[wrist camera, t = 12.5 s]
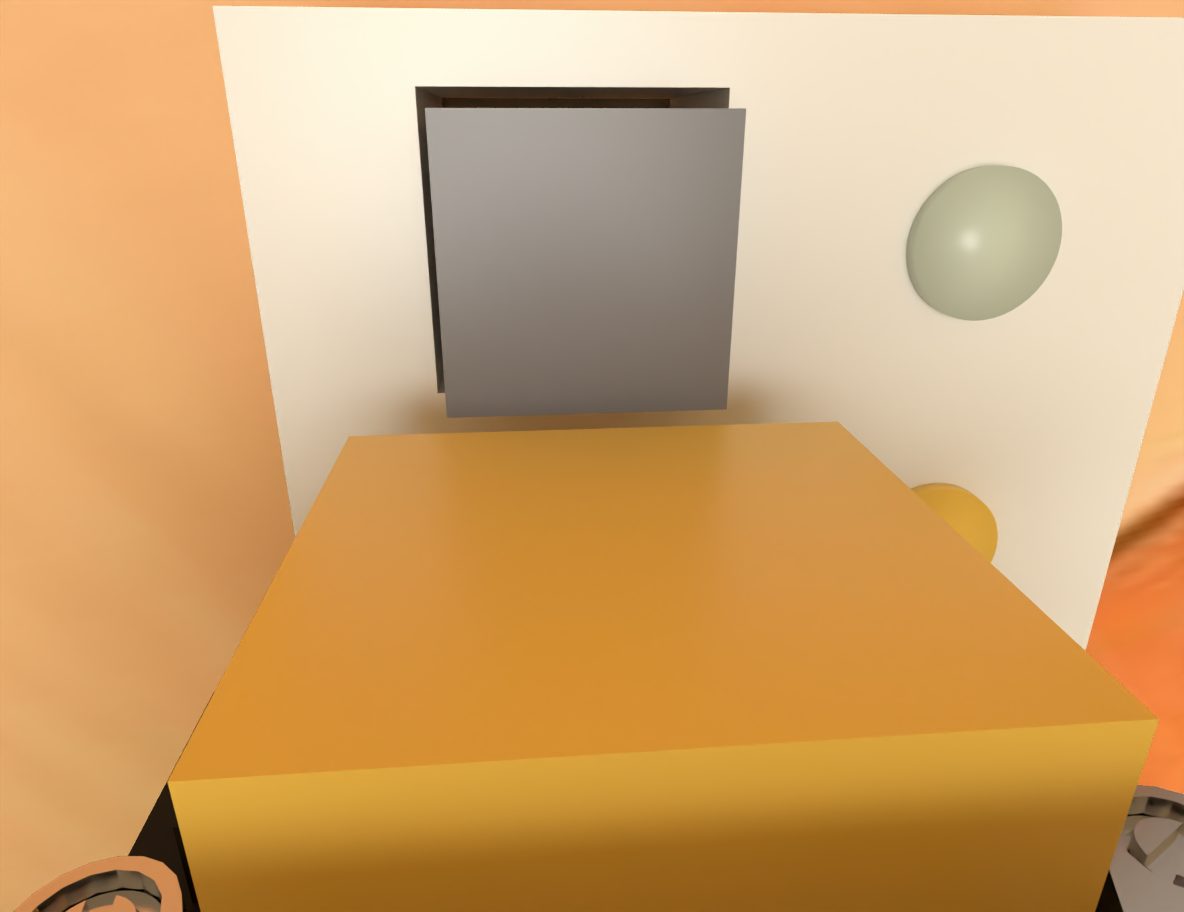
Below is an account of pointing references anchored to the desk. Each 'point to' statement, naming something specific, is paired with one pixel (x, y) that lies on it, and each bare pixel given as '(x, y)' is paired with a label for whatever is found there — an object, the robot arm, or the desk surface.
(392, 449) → the cap
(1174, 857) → the robot arm
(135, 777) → the desk surface
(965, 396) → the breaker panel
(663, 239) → the block
